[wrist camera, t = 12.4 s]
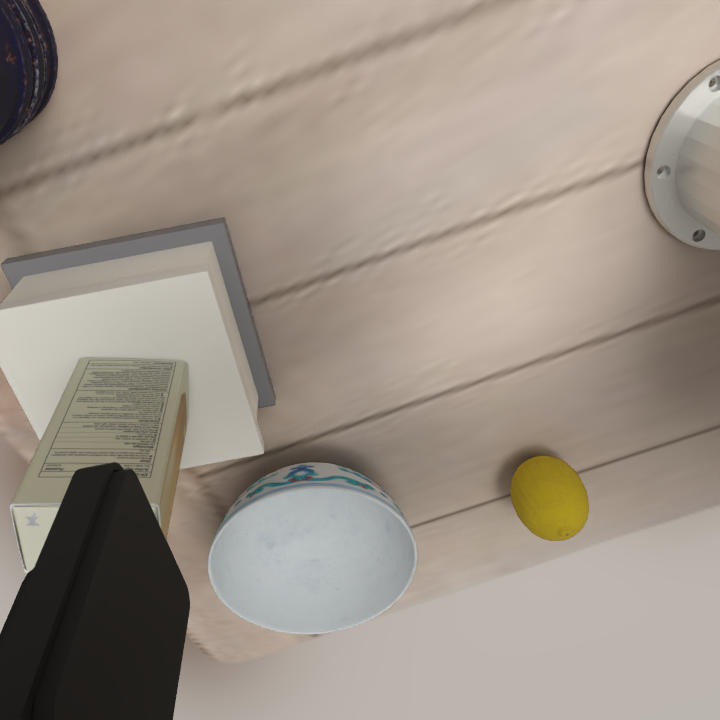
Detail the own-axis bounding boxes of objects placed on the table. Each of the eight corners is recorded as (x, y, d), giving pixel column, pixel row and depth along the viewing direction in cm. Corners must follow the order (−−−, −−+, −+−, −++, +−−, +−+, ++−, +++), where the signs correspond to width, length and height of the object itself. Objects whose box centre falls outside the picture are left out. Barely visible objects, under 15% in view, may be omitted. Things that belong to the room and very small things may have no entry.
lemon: (510, 496, 56) (540, 571, 50) (491, 451, 54) (520, 523, 47) (572, 473, 56) (611, 545, 49) (556, 426, 53) (595, 495, 46)
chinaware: (182, 463, 52) (166, 537, 45) (358, 390, 50) (368, 457, 43) (271, 579, 59) (269, 657, 53) (428, 520, 57) (446, 593, 51)
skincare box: (86, 415, 40) (14, 576, 30) (78, 354, 38) (-2, 504, 28) (195, 419, 41) (162, 577, 31) (193, 359, 39) (158, 507, 28)
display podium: (224, 217, 42) (213, 260, 36) (275, 397, 49) (273, 458, 43) (6, 258, 42) (-41, 308, 36) (89, 431, 49) (62, 497, 43)
